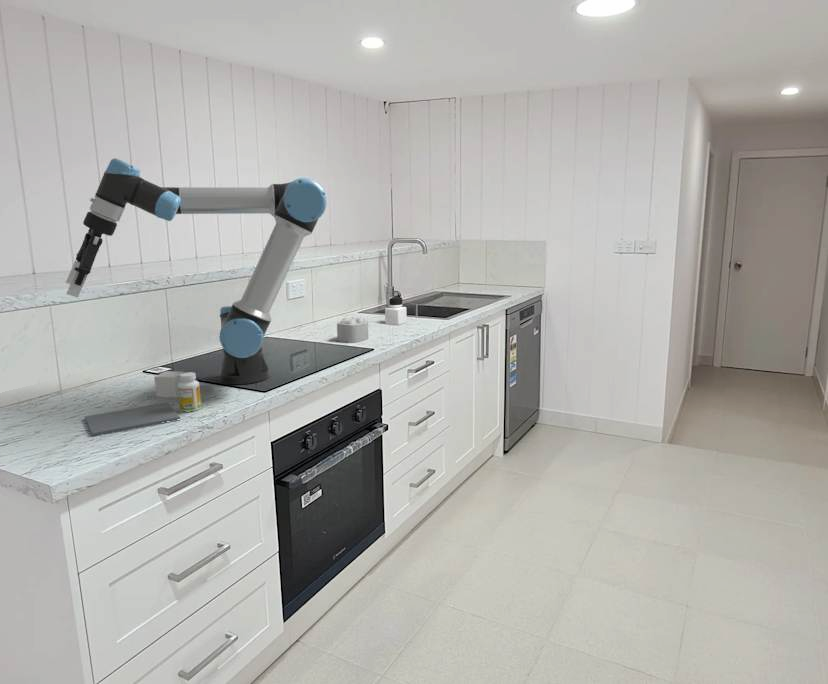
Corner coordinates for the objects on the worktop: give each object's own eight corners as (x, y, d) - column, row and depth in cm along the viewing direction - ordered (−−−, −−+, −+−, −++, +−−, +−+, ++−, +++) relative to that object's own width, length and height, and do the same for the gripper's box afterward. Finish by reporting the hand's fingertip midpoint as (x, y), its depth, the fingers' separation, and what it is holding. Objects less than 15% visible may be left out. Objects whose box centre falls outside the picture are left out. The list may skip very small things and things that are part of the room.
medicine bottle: (407, 322, 286) (406, 296, 283) (398, 325, 280) (397, 298, 278) (393, 321, 290) (393, 295, 287) (385, 324, 284) (384, 297, 281)
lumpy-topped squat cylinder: (334, 341, 251) (333, 319, 249) (354, 335, 261) (353, 314, 259) (354, 343, 245) (353, 321, 243) (374, 337, 255) (374, 316, 254)
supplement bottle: (194, 404, 172) (191, 370, 170) (205, 408, 169) (202, 373, 167) (176, 409, 168) (172, 374, 166) (187, 413, 165) (183, 378, 163)
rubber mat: (166, 405, 173) (166, 402, 172) (180, 420, 160) (179, 417, 160) (85, 419, 162) (84, 416, 162) (92, 436, 150) (92, 433, 149)
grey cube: (156, 397, 181) (154, 376, 179) (167, 391, 186) (164, 371, 185) (176, 397, 180) (173, 377, 178) (186, 391, 186) (184, 371, 184)
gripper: (86, 205, 175) (56, 274, 176) (90, 216, 154) (56, 295, 156) (114, 216, 179) (84, 284, 180) (122, 229, 158) (88, 306, 160)
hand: (71, 289), depth 168 cm, fingers open, 13 cm apart
